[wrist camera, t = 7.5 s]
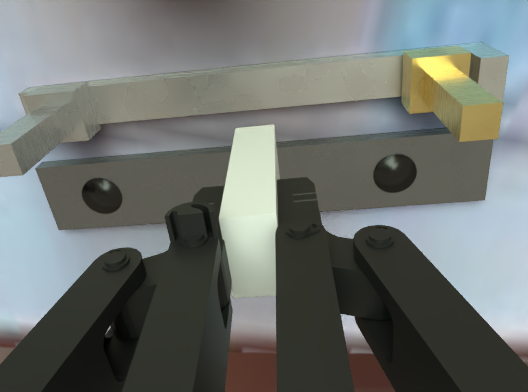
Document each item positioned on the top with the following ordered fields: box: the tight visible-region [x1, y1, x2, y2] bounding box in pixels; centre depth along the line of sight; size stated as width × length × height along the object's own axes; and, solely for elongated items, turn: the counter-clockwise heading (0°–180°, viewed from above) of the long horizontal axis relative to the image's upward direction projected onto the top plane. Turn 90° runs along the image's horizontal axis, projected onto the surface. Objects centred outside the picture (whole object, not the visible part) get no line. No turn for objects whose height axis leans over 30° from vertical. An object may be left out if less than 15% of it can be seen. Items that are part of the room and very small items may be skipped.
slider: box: [401, 46, 503, 142], centre depth 23 cm, size 3×3×8 cm
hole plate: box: [35, 128, 493, 230], centre depth 31 cm, size 30×5×1 cm, turn 96°
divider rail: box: [0, 42, 509, 177], centre depth 25 cm, size 28×3×9 cm, turn 96°
